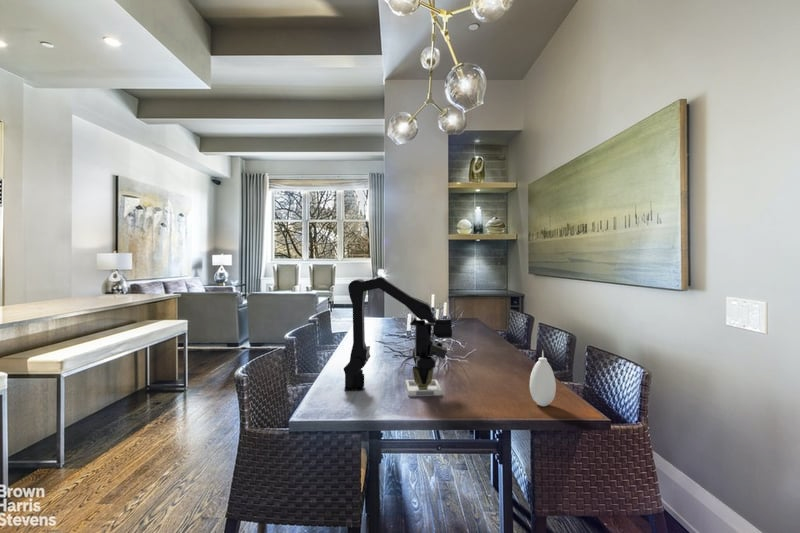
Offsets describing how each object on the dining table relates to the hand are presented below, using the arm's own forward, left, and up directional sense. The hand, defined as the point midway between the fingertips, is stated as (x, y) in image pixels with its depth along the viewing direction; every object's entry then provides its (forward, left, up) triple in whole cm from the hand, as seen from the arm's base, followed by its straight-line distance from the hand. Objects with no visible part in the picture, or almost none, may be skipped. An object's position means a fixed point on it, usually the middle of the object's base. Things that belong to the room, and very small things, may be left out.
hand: (422, 380), depth 137 cm
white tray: (0, 0, -4) cm, 4 cm away
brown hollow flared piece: (0, 0, -3) cm, 3 cm away
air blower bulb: (+37, -16, -4) cm, 41 cm away
